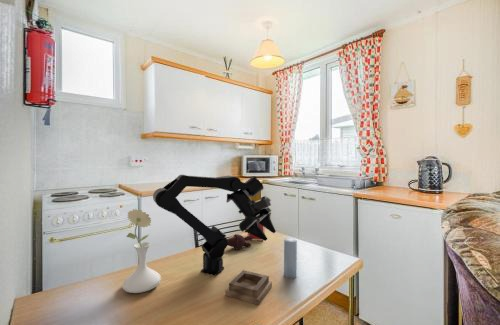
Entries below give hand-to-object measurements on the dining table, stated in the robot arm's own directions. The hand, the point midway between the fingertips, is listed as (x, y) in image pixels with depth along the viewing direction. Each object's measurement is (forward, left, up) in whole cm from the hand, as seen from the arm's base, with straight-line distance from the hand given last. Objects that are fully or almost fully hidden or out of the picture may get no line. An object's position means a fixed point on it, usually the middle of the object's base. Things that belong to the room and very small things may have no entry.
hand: (270, 236), depth 88 cm
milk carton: (-20, +31, -13) cm, 39 cm away
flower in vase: (-35, -28, -13) cm, 47 cm away
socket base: (-2, -15, -13) cm, 20 cm away
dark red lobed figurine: (-21, +13, -13) cm, 29 cm away
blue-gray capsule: (+7, 0, -13) cm, 15 cm away
